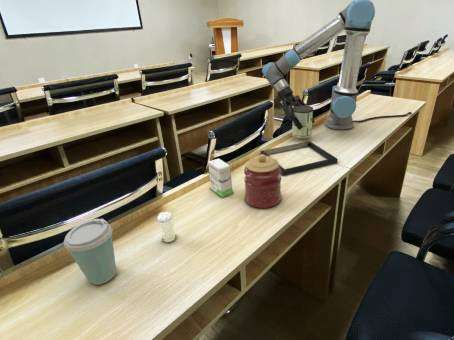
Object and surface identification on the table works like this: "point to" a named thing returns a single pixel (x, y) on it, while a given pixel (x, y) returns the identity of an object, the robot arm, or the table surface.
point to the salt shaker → (166, 226)
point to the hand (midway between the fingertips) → (307, 125)
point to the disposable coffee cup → (93, 250)
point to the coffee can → (303, 121)
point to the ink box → (220, 177)
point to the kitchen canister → (262, 182)
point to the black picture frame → (296, 169)
